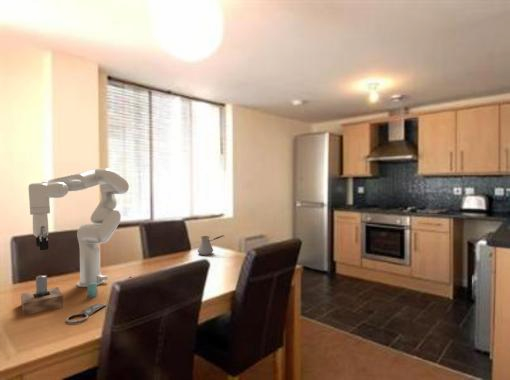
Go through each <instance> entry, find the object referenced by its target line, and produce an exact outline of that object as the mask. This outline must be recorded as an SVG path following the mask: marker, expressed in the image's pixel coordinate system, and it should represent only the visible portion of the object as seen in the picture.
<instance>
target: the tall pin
mask: <svg viewBox="0 0 510 380" xmlns="http://www.w3.org/2000/svg"><path fill="white" fill-rule="evenodd" d="M47 289H48V275H47V274H42V275H36V276H35V291H36V298H38V297H43V296H47Z"/></svg>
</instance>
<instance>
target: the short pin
mask: <svg viewBox="0 0 510 380" xmlns="http://www.w3.org/2000/svg"><path fill="white" fill-rule="evenodd" d="M96 297H98V285H97V283H96V282H92V283H88V287H87V298H96Z"/></svg>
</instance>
